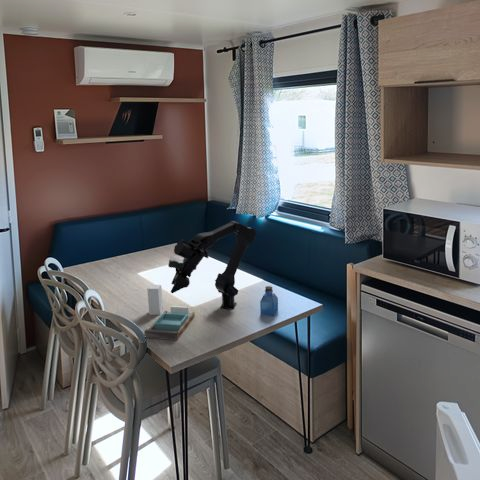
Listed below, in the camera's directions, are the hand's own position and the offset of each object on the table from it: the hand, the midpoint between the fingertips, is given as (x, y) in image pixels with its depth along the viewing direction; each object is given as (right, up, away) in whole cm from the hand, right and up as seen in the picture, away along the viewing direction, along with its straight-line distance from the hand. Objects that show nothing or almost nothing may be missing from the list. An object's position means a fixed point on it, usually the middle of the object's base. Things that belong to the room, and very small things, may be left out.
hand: (171, 288), depth 224 cm
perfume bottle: (+43, -12, +4) cm, 45 cm away
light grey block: (-8, -12, +8) cm, 17 cm away
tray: (+1, -14, -4) cm, 15 cm away
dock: (+1, -16, -7) cm, 17 cm away
